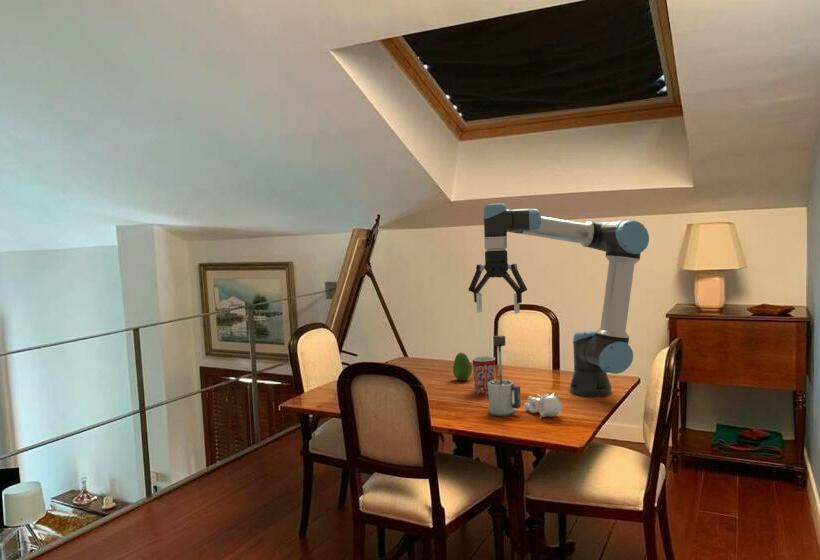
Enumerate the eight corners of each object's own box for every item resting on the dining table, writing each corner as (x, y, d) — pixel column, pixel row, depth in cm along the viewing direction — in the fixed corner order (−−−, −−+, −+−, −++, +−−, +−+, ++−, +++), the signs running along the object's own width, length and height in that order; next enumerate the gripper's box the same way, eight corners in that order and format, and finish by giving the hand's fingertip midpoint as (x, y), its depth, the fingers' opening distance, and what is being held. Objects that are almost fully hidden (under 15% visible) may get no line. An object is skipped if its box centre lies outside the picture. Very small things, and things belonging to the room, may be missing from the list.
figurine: (530, 385, 215) (557, 385, 202) (544, 398, 217) (572, 399, 203) (515, 410, 211) (542, 412, 198) (530, 423, 213) (557, 426, 199)
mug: (499, 394, 235) (497, 359, 234) (475, 396, 234) (474, 361, 233) (491, 386, 248) (490, 353, 247) (469, 388, 247) (468, 355, 246)
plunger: (511, 385, 212) (509, 335, 210) (505, 389, 207) (504, 338, 205) (496, 384, 214) (494, 334, 213) (490, 387, 209) (488, 337, 208)
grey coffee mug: (524, 411, 212) (523, 381, 211) (514, 418, 204) (513, 387, 203) (494, 408, 217) (493, 378, 217) (484, 415, 209) (483, 384, 209)
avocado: (452, 382, 258) (451, 354, 257) (454, 378, 265) (453, 350, 264) (471, 382, 256) (470, 354, 255) (472, 378, 264) (471, 350, 263)
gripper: (535, 248, 204) (537, 311, 206) (466, 250, 217) (469, 310, 218) (527, 249, 198) (529, 314, 199) (457, 251, 211) (459, 312, 212)
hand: (497, 312), depth 209 cm, fingers open, 13 cm apart
